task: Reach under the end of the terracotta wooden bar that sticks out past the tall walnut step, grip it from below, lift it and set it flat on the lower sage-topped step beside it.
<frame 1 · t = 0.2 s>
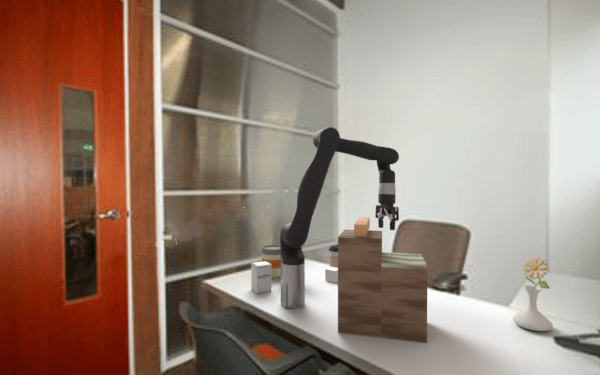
hand: (386, 228, 152), 29 cm above the table, tool pointing down, fingers open, 8 cm apart
coffee cup: (336, 273, 185), on the table
coffee box: (291, 284, 165), on the table
stepped stand: (381, 325, 117), on the table
flower in vase: (533, 328, 115), on the table
white cube: (333, 281, 171), on the table
terracotta bar: (362, 231, 124), point 32 cm above the table, touching stepped stand
supplement box: (261, 290, 156), on the table
reusable coffee cup: (273, 275, 180), on the table
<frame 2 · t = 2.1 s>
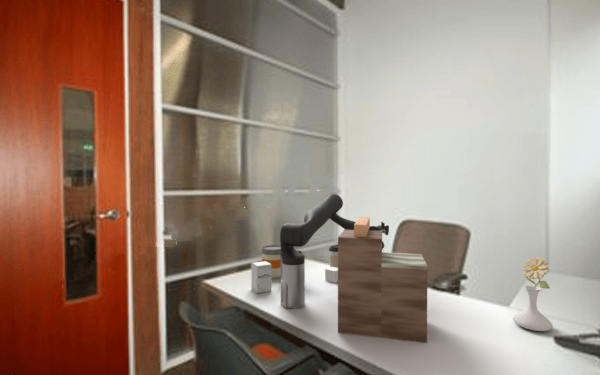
hand: (372, 223, 146), 32 cm above the table, tool pointing upward, fingers open, 8 cm apart
nothing on the table moved.
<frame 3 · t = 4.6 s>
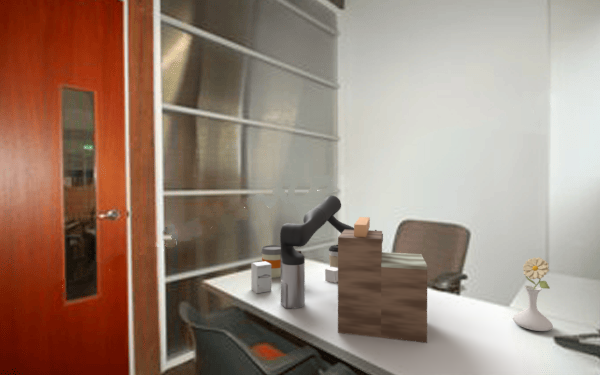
hand: (365, 231, 141), 29 cm above the table, tool pointing upward, fingers open, 8 cm apart
nothing on the table moved.
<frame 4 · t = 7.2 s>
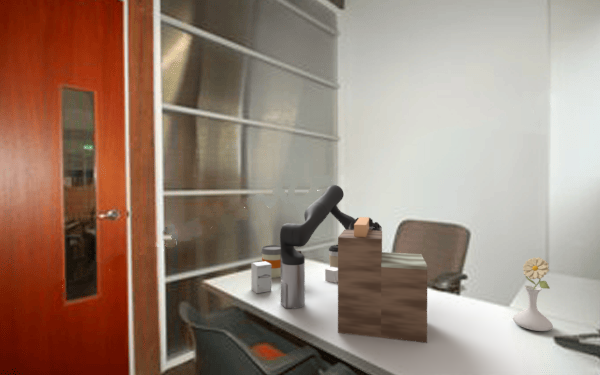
hand: (363, 220, 131), 35 cm above the table, tool pointing upward, fingers closed on terracotta bar, 4 cm apart
terracotta bar: (362, 231, 124), point 32 cm above the table, touching gripper, stepped stand
everything else where it was.
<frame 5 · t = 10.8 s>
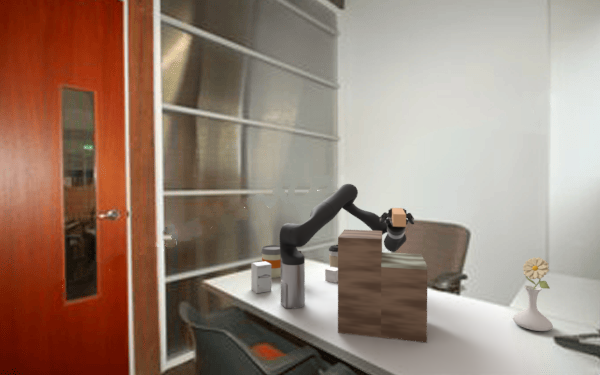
hand: (397, 210, 127), 39 cm above the table, tool pointing upward, fingers closed on terracotta bar, 4 cm apart
terracotta bar: (398, 221, 121), point 36 cm above the table, touching gripper
everything else where it was.
when the fingers open (29 cm above the table, at t = 14.2 s): terracotta bar drops 1 cm, resting on stepped stand.
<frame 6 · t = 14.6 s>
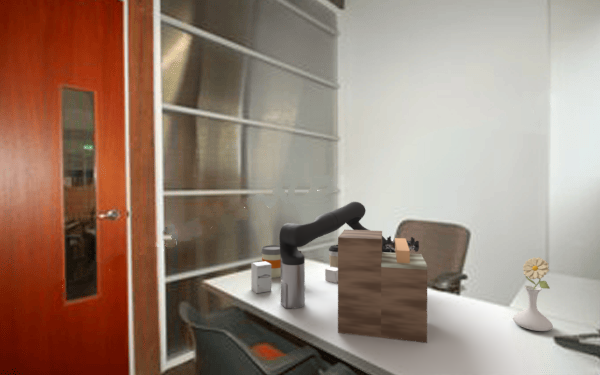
hand: (401, 239, 128), 29 cm above the table, tool pointing upward, fingers open, 7 cm apart
terracotta bar: (401, 254, 121), point 24 cm above the table, touching stepped stand
everything else where it was.
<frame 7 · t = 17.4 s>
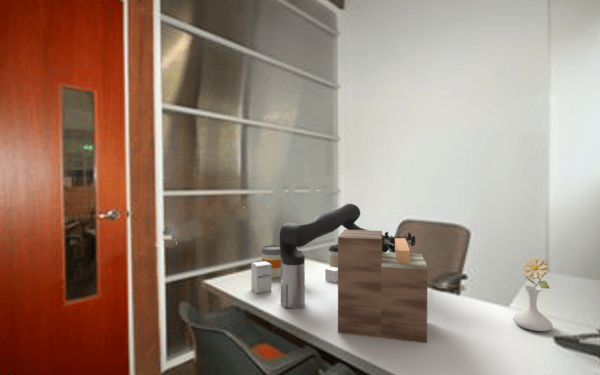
hand: (398, 234, 138), 29 cm above the table, tool pointing upward, fingers open, 8 cm apart
nothing on the table moved.
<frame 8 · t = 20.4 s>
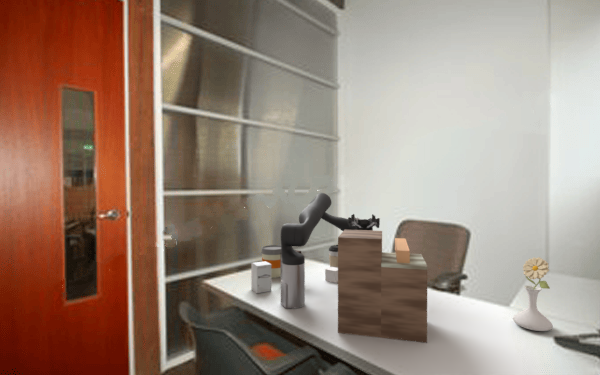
hand: (363, 216, 149), 35 cm above the table, tool pointing upward, fingers open, 8 cm apart
nothing on the table moved.
at the end: terracotta bar inside the target area on the stepped stand (0.3 cm from its centre), point 24.0 cm above the stepped stand's base; terracotta bar tilted 0°; the gripper is holding nothing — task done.
